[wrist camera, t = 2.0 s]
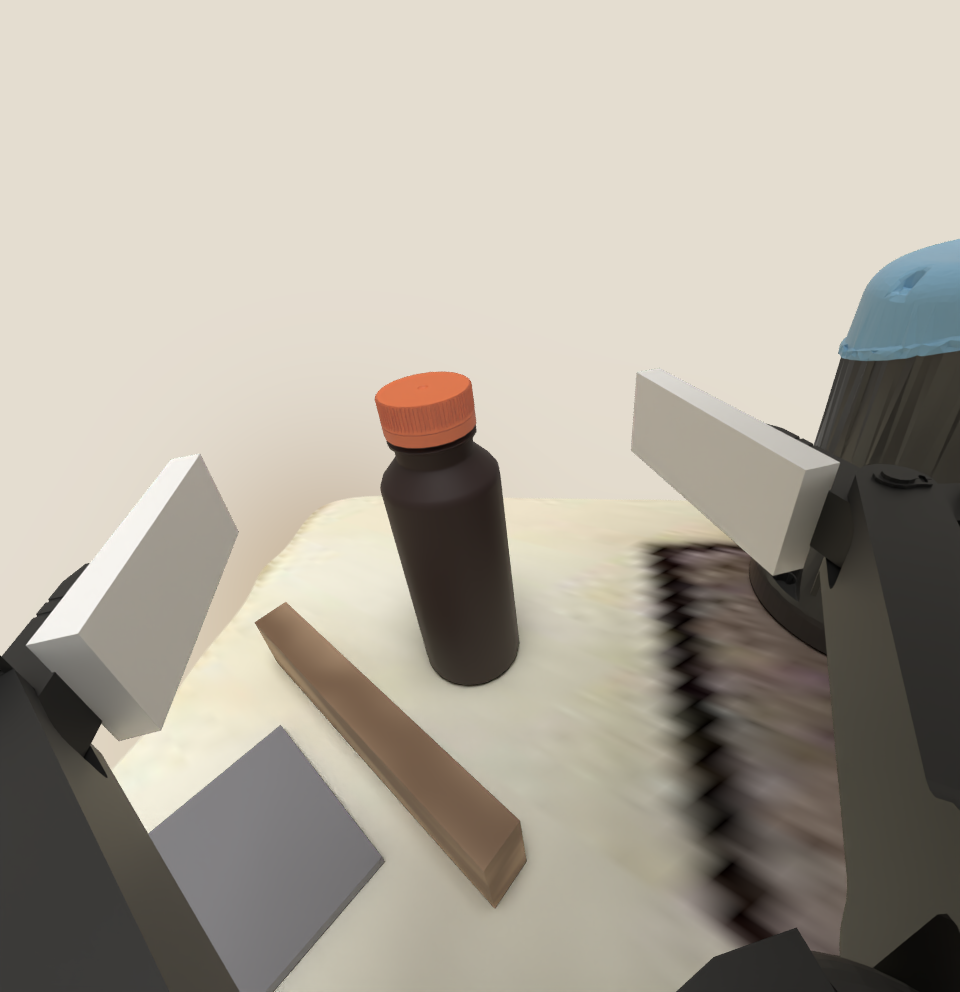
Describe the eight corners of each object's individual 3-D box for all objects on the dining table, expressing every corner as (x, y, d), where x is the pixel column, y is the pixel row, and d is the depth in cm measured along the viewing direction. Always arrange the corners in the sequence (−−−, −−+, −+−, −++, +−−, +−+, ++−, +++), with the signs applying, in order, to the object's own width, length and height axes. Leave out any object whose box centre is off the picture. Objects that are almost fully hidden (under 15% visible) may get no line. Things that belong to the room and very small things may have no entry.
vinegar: (538, 638, 34) (517, 374, 23) (477, 706, 30) (417, 428, 19) (470, 599, 38) (426, 359, 27) (409, 655, 34) (328, 400, 23)
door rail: (305, 642, 36) (285, 601, 34) (526, 861, 23) (519, 820, 20) (277, 662, 35) (254, 622, 33) (494, 908, 22) (483, 871, 19)
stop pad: (283, 730, 30) (280, 724, 30) (384, 861, 24) (382, 856, 23) (91, 890, 24) (84, 885, 24) (153, 1131, 17) (144, 1130, 17)
